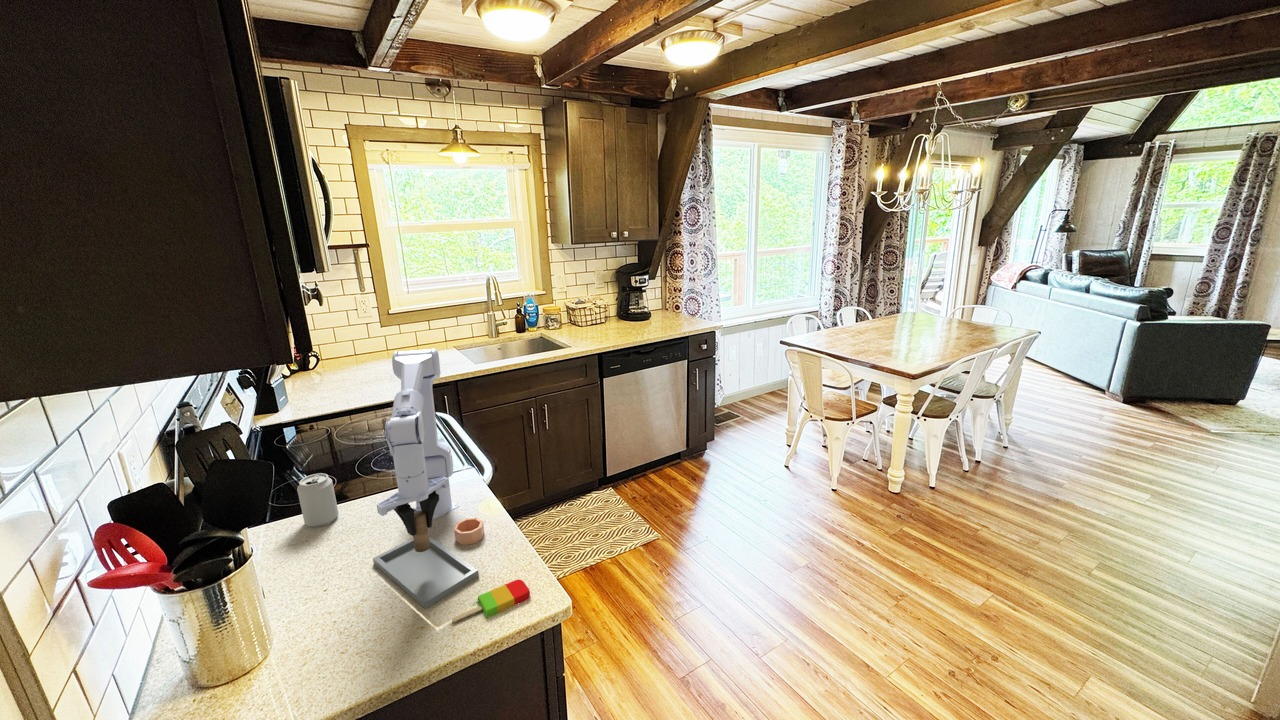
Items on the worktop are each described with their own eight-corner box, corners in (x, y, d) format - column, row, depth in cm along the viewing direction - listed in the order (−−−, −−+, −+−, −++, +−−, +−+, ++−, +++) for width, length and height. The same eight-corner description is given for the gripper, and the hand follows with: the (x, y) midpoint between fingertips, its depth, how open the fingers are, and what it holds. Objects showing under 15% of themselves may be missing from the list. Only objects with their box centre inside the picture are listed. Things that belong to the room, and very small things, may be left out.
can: (298, 529, 125) (288, 486, 122) (316, 512, 133) (307, 471, 129) (329, 528, 126) (320, 485, 122) (344, 512, 133) (337, 470, 130)
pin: (412, 548, 108) (407, 515, 106) (425, 541, 110) (420, 509, 108) (419, 554, 106) (414, 520, 104) (432, 547, 108) (428, 514, 106)
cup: (451, 539, 120) (449, 526, 120) (474, 527, 125) (472, 515, 124) (466, 549, 117) (464, 536, 116) (488, 536, 121) (487, 523, 120)
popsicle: (532, 599, 102) (531, 591, 101) (456, 634, 93) (455, 625, 93) (521, 584, 106) (521, 576, 105) (448, 616, 98) (447, 607, 97)
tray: (374, 566, 112) (372, 558, 111) (425, 539, 121) (424, 532, 120) (425, 611, 98) (424, 602, 98) (479, 578, 107) (478, 570, 107)
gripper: (384, 492, 95) (395, 554, 99) (454, 464, 106) (460, 520, 110) (368, 481, 100) (378, 540, 103) (436, 455, 110) (443, 509, 114)
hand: (419, 529), depth 107 cm, fingers closed on pin, 3 cm apart
